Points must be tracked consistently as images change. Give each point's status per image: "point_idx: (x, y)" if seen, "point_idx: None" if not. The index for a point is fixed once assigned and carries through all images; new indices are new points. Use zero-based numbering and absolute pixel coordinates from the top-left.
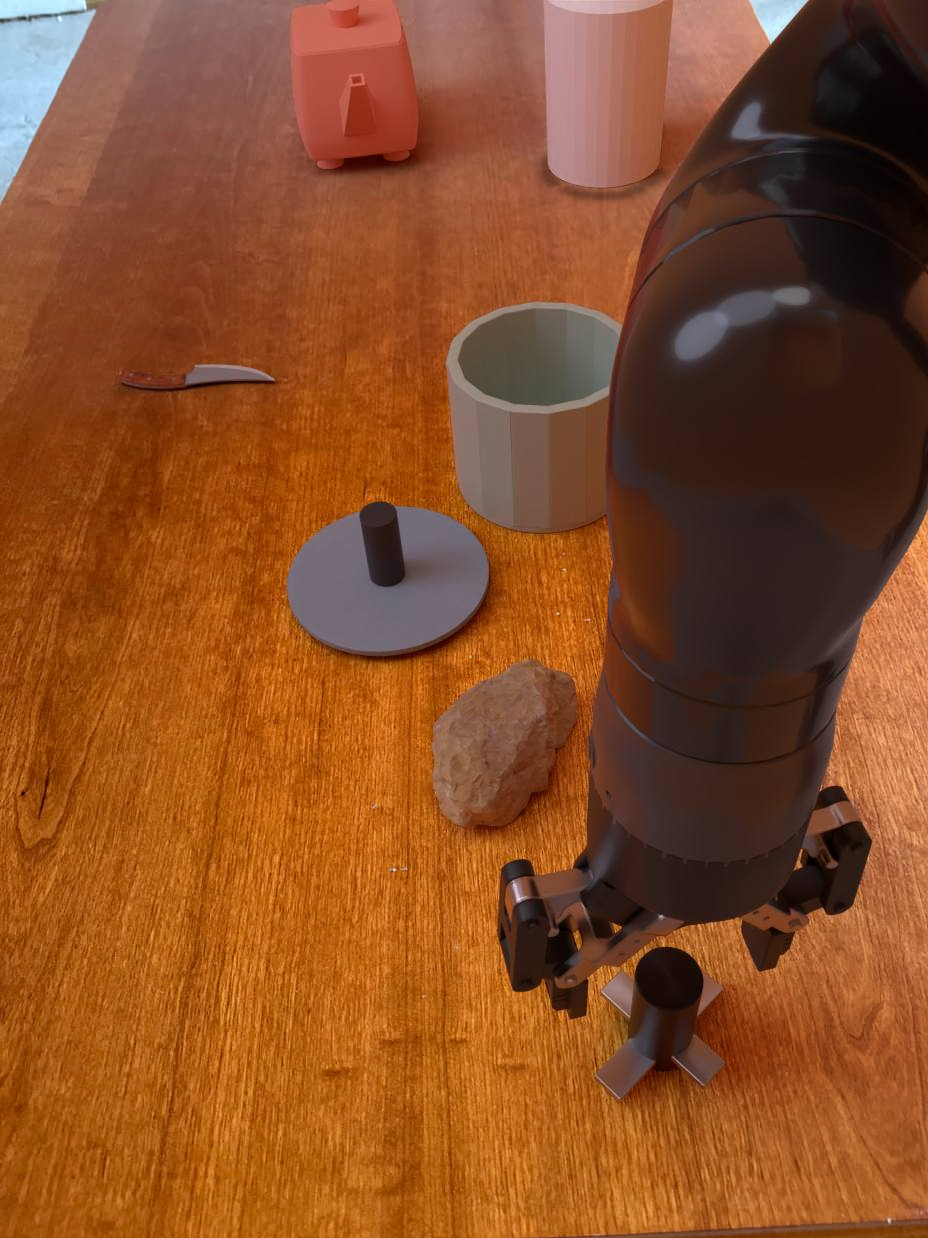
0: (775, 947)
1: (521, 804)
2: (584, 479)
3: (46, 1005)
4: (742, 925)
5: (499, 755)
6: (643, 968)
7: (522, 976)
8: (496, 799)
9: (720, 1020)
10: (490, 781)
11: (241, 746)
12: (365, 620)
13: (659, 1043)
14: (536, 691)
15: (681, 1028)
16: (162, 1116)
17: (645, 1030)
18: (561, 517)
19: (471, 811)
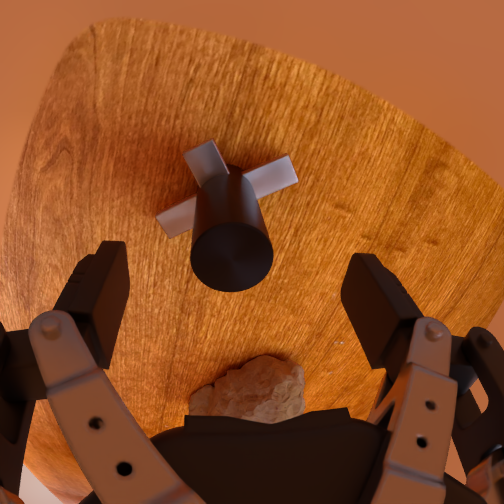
0: (92, 282)
1: (251, 367)
2: None
3: (493, 305)
4: (126, 298)
5: (265, 410)
6: (255, 277)
7: (502, 360)
8: (275, 382)
9: (165, 190)
10: (277, 397)
11: (369, 398)
12: None
13: (245, 189)
14: None
15: (227, 198)
16: (494, 247)
17: (258, 206)
18: None
19: (292, 376)
